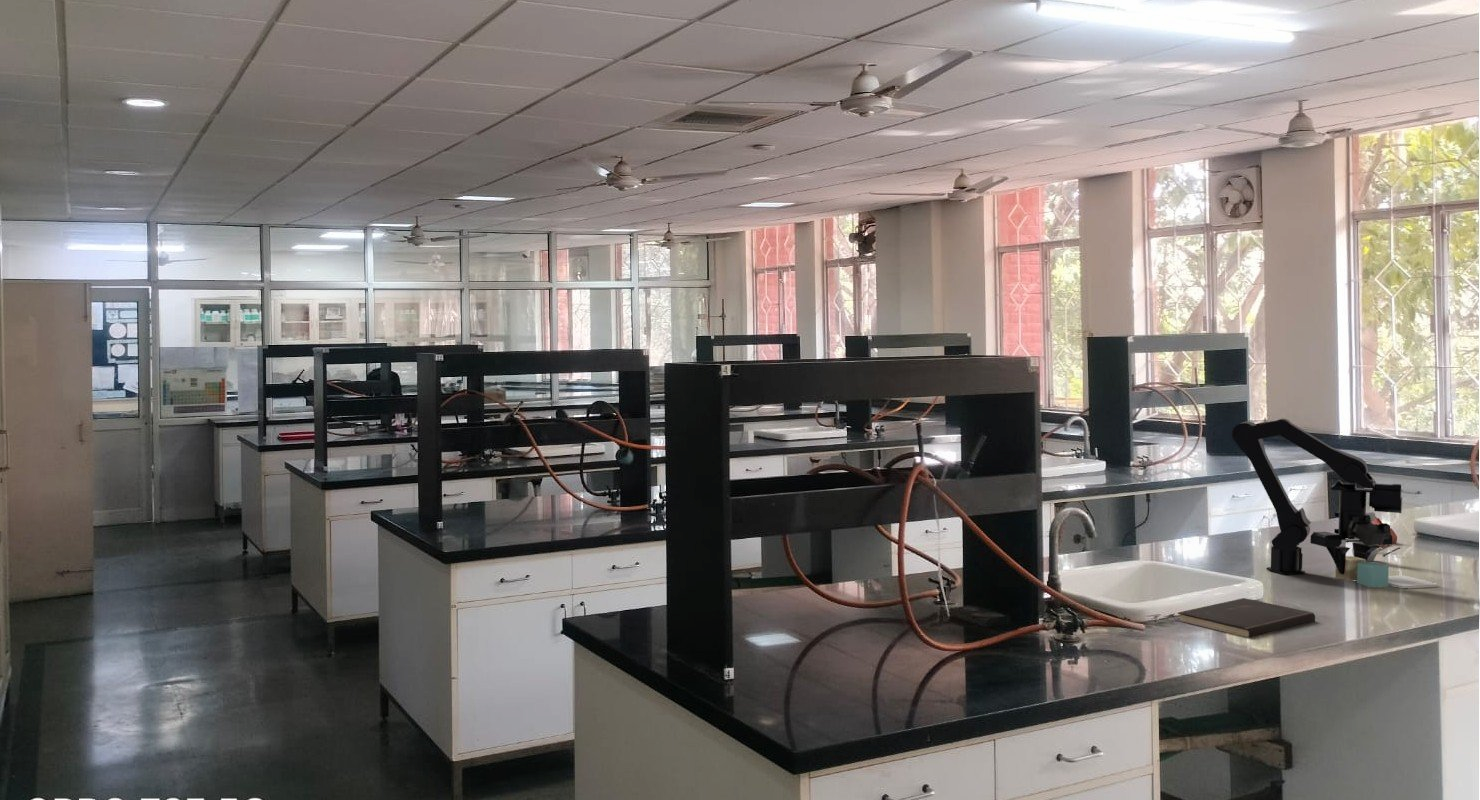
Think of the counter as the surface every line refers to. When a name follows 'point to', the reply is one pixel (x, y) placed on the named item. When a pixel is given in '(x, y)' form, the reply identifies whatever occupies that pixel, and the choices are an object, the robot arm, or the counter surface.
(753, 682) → the counter surface
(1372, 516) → the salt shaker
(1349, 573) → the brick
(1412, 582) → the plate
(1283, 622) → the hardcover book
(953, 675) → the counter surface
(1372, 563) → the brick
